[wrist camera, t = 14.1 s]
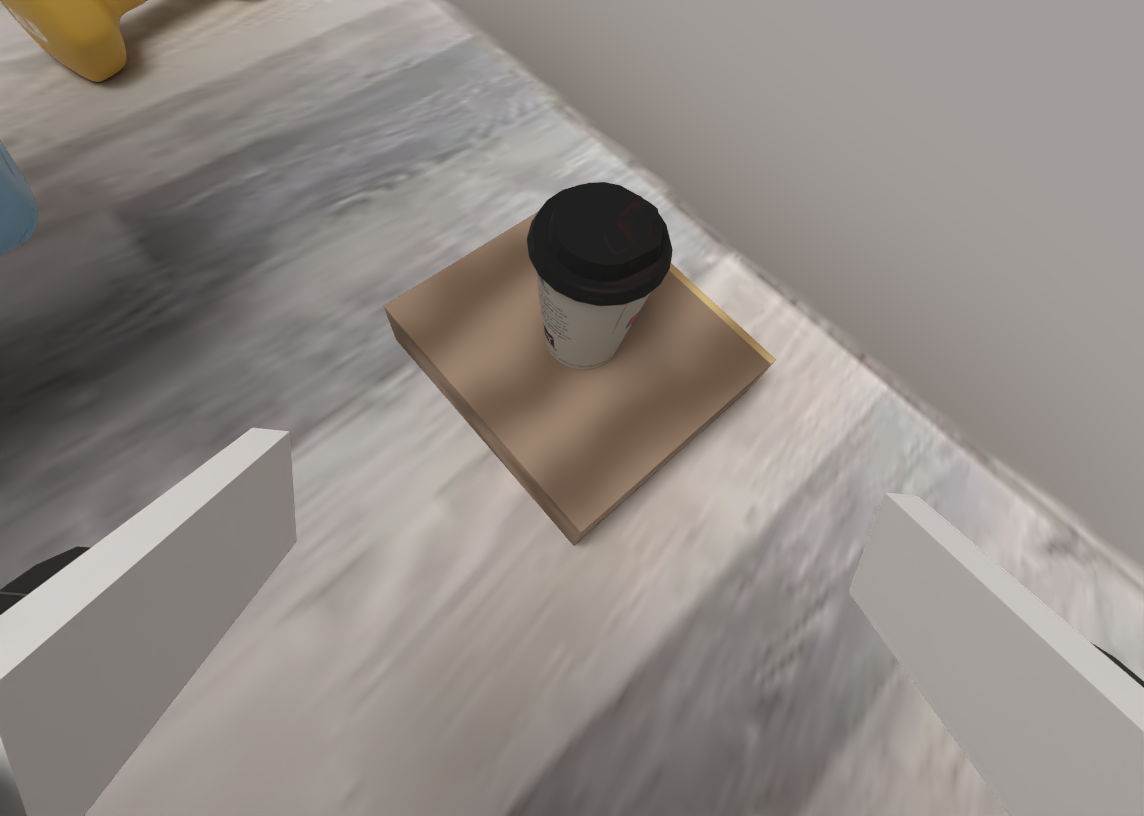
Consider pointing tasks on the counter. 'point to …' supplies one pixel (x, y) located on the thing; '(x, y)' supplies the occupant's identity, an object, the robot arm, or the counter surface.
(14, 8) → the dumbbell
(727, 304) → the counter surface
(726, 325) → the brown flat square block
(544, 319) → the coffee cup
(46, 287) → the counter surface
